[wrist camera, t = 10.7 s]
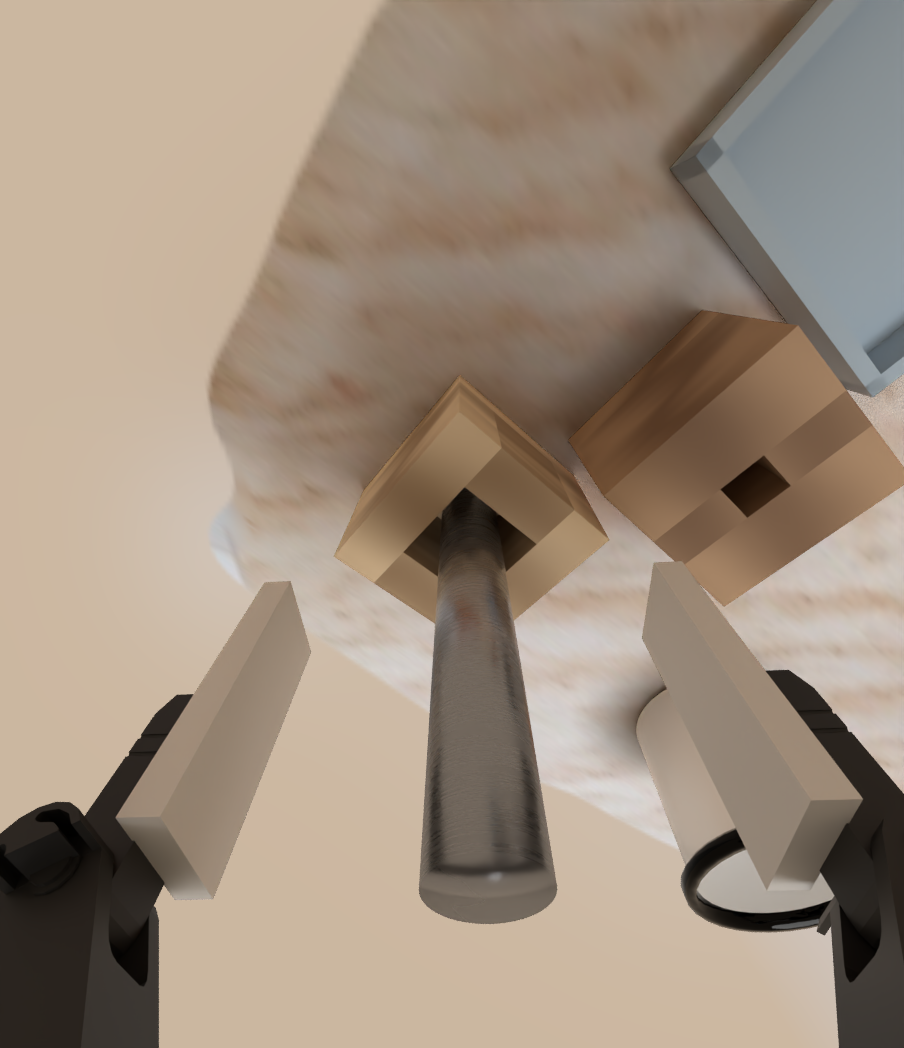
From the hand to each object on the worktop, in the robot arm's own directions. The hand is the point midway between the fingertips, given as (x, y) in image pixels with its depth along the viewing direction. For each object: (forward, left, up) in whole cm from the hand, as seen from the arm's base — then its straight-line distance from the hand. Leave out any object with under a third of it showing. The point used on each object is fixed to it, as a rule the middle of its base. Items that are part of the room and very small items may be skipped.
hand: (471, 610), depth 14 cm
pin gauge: (0, 0, -8) cm, 8 cm away
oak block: (0, 0, -9) cm, 9 cm away
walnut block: (-8, +5, -9) cm, 14 cm away
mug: (+2, +23, -9) cm, 25 cm away
